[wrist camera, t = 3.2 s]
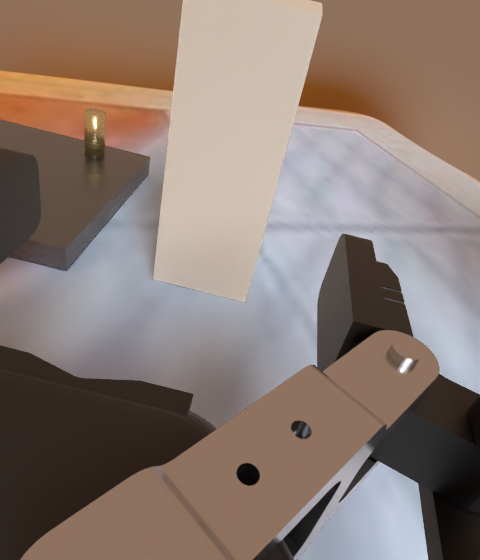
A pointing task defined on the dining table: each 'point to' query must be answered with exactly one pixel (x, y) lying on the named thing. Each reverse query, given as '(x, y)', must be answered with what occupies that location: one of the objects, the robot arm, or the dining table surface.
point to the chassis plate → (73, 187)
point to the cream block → (229, 136)
